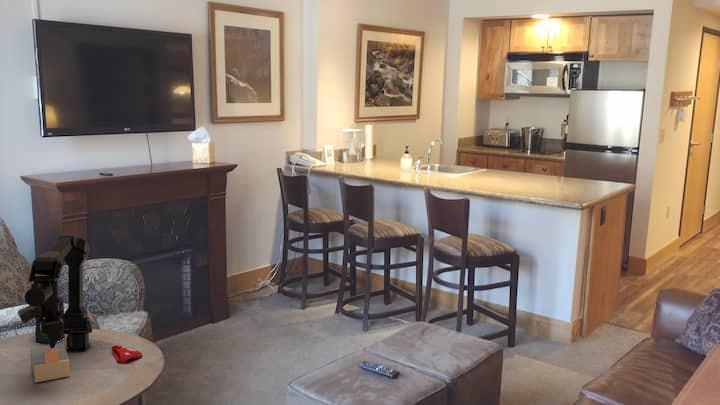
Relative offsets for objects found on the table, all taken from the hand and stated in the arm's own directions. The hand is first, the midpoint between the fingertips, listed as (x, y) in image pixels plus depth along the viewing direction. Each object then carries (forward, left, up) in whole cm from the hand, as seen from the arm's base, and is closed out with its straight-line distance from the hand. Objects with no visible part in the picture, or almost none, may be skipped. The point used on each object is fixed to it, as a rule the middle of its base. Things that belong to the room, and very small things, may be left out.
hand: (50, 342), depth 193 cm
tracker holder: (-17, -19, -13) cm, 29 cm away
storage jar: (+15, -32, -13) cm, 37 cm away
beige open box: (+3, -6, -12) cm, 14 cm away
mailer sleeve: (+4, -7, -13) cm, 15 cm away
